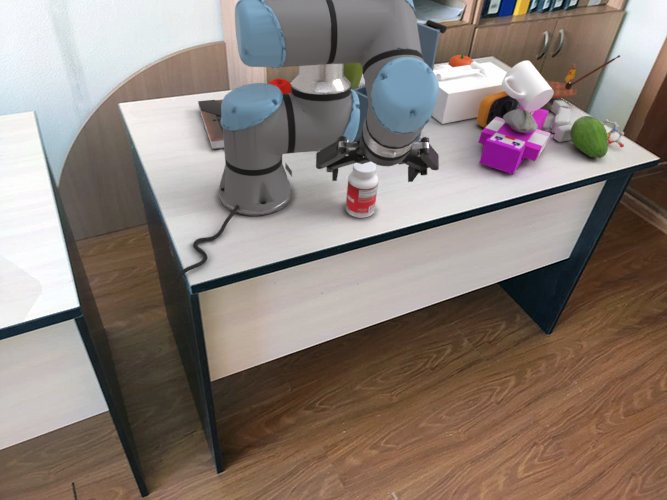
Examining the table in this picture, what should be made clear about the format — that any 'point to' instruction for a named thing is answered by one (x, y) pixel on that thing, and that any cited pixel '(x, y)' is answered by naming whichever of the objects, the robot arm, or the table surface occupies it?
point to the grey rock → (520, 121)
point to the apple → (282, 85)
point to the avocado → (590, 136)
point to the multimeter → (495, 107)
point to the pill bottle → (362, 190)
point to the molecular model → (614, 132)
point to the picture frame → (212, 121)
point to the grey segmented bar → (561, 121)
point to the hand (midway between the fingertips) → (372, 174)
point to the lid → (429, 40)
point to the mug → (527, 86)
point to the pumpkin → (460, 61)
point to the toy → (512, 143)
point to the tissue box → (465, 90)
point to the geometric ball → (442, 66)
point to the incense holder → (567, 89)
